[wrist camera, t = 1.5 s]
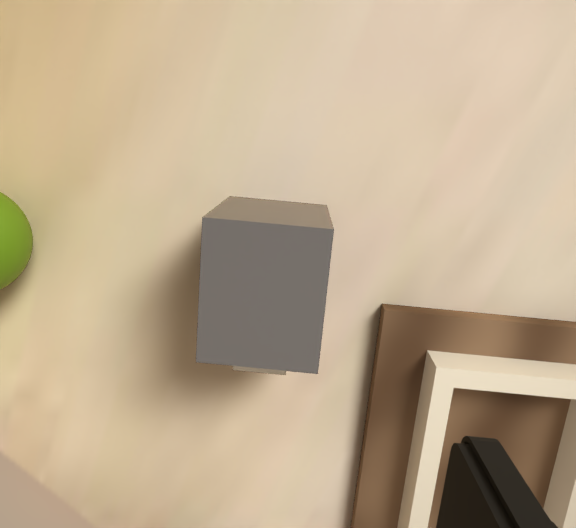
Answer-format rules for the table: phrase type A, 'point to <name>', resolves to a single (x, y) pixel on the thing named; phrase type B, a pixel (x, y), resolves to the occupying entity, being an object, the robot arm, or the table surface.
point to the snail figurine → (13, 241)
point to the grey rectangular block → (263, 285)
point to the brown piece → (465, 409)
